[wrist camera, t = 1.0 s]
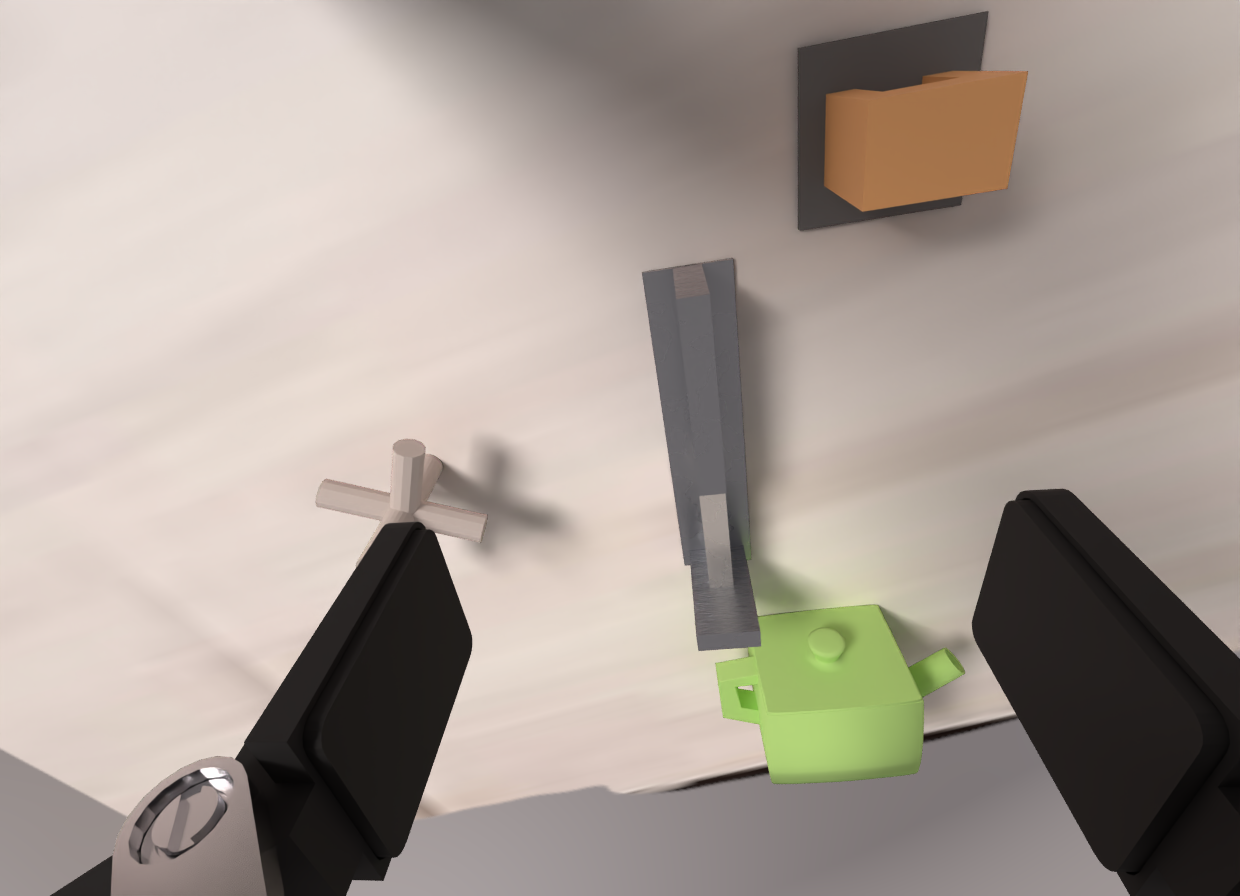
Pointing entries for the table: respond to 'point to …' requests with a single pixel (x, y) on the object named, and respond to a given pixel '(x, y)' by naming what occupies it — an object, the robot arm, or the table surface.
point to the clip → (923, 138)
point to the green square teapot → (833, 695)
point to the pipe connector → (404, 497)
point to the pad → (873, 68)
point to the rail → (706, 442)
